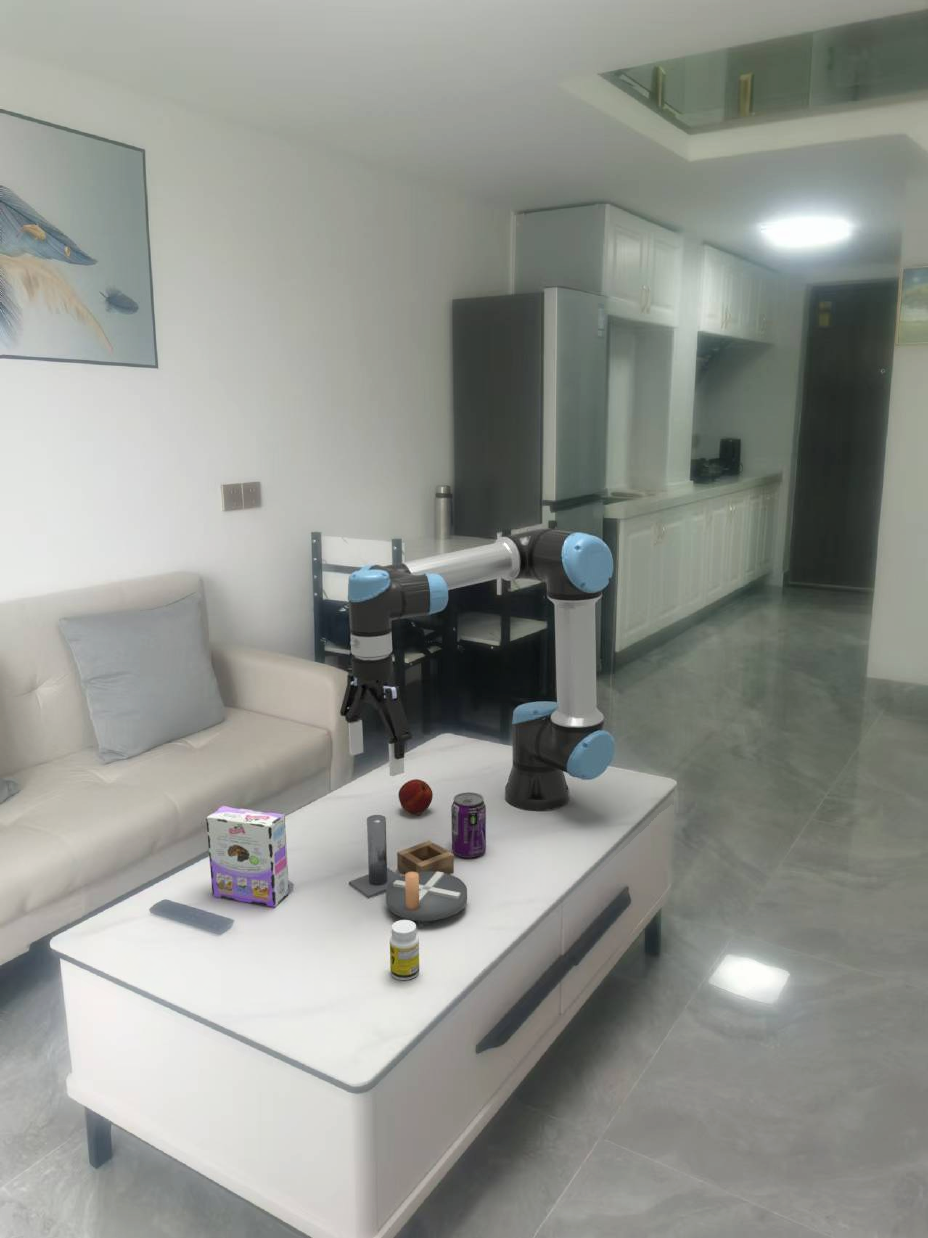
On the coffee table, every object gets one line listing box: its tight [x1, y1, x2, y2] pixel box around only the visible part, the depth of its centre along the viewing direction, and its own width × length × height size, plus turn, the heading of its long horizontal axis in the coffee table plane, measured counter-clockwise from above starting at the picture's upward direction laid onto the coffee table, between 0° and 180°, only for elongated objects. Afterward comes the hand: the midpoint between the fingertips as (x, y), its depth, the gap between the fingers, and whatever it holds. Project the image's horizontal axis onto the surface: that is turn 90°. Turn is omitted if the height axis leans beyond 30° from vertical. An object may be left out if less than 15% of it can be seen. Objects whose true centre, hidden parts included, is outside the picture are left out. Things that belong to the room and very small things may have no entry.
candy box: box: [205, 805, 290, 908], centre depth 174 cm, size 14×6×16 cm, turn 71°
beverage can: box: [450, 791, 487, 859], centre depth 191 cm, size 7×7×12 cm
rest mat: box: [348, 867, 401, 899], centre depth 179 cm, size 9×7×1 cm
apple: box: [397, 778, 434, 815], centre depth 211 cm, size 7×8×8 cm
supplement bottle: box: [389, 919, 420, 981], centre depth 150 cm, size 5×5×8 cm
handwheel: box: [385, 871, 468, 921], centre depth 170 cm, size 15×15×8 cm
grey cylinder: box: [366, 814, 388, 886], centre depth 178 cm, size 4×4×13 cm
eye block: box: [396, 840, 455, 875], centre depth 184 cm, size 8×8×4 cm
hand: (376, 763), depth 174 cm, fingers open, 13 cm apart
